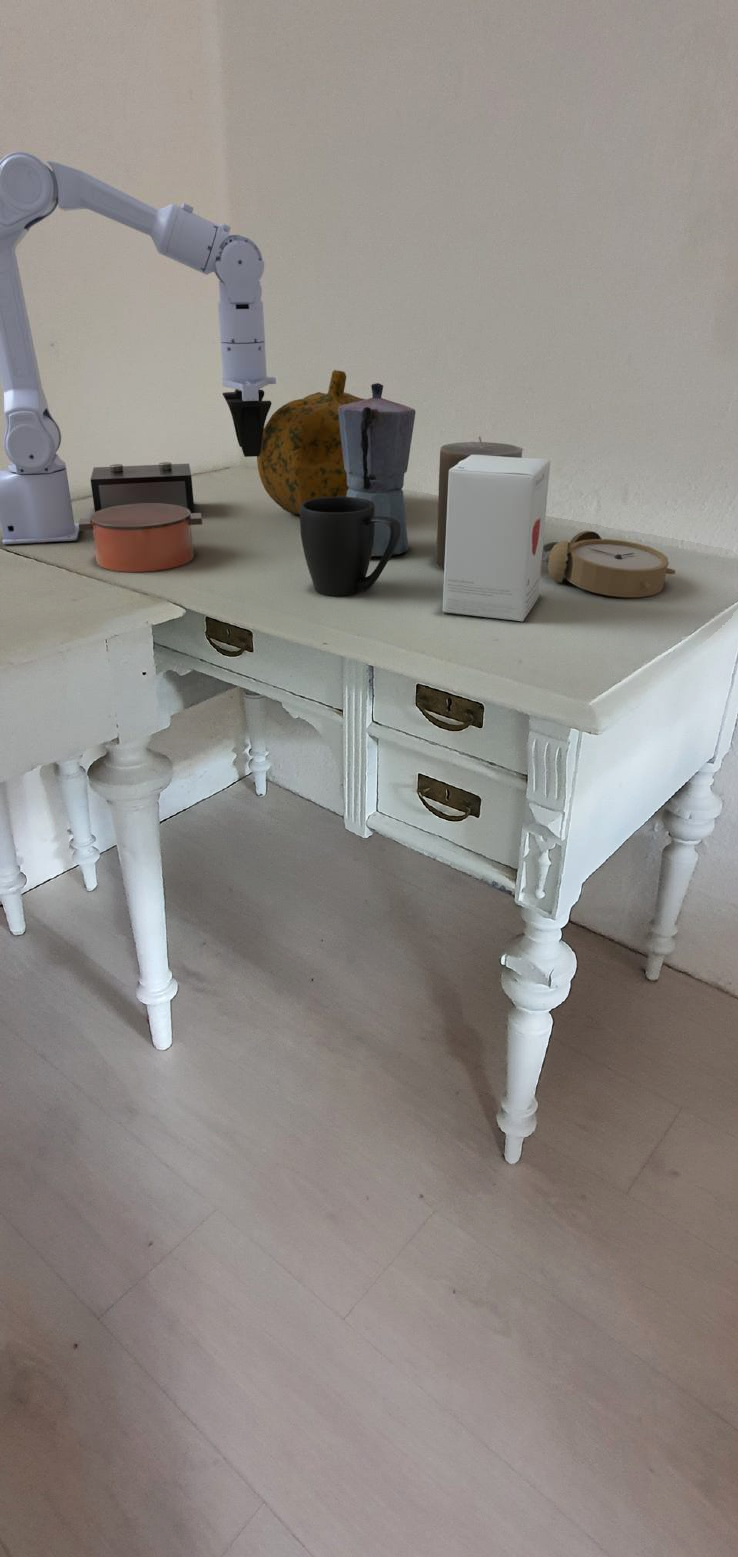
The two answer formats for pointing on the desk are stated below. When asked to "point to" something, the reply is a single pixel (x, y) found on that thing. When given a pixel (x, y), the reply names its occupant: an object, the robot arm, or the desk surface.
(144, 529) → the saucepan
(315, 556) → the mug
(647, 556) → the alarm clock
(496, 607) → the rectangular carton
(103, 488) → the appliance
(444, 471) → the pillar candle
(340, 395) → the decorative pumpkin
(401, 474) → the moka pot
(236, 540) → the desk surface
